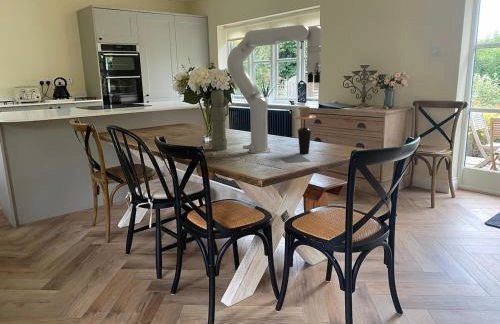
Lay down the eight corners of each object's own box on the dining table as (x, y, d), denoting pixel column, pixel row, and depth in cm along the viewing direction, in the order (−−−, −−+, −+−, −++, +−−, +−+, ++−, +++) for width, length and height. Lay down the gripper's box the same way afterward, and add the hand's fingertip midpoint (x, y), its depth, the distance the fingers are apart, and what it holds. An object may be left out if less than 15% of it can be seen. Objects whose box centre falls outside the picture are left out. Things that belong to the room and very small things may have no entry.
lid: (297, 120, 197) (297, 109, 195) (290, 117, 208) (290, 106, 207) (319, 118, 199) (319, 107, 198) (311, 115, 211) (311, 105, 209)
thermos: (230, 149, 224) (228, 90, 216) (210, 151, 222) (207, 90, 214) (228, 147, 233) (226, 89, 225) (209, 148, 230) (206, 90, 222)
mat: (286, 163, 186) (286, 163, 186) (278, 158, 199) (278, 157, 199) (311, 162, 189) (311, 161, 189) (302, 156, 201) (302, 156, 201)
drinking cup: (303, 152, 213) (303, 116, 209) (314, 153, 208) (314, 117, 203) (294, 154, 209) (294, 117, 204) (304, 156, 203) (305, 118, 198)
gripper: (302, 51, 212) (301, 82, 216) (313, 49, 196) (312, 83, 200) (314, 51, 214) (314, 82, 218) (327, 49, 197) (326, 82, 201)
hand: (313, 82), depth 209 cm, fingers open, 9 cm apart
